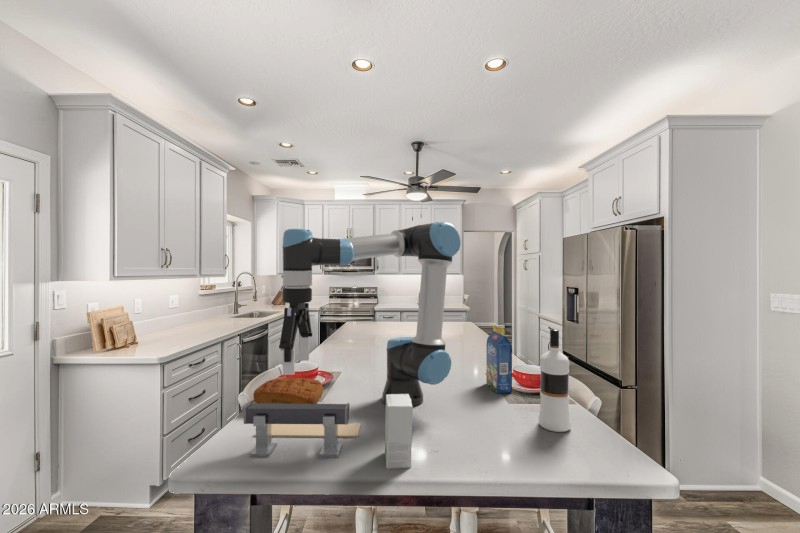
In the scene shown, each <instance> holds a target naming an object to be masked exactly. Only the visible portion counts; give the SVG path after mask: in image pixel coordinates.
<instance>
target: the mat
mask: <svg viewBox="0 0 800 533" xmlns="http://www.w3.org/2000/svg"><path fill="white" fill-rule="evenodd" d="M360 429H361V423H348V424H347V425H345V424H338V438H358V436H359V433H360ZM253 437H254V438H256V432H255V433H254V434H253ZM280 437H281V438H324V426H323V424H271V438H280Z"/></svg>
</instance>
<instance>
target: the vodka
mask: <svg viewBox="0 0 800 533" xmlns="http://www.w3.org/2000/svg"><path fill="white" fill-rule="evenodd" d="M539 364H540V365H539V366H540V367H539V369H540V392H539V395H540V405H539V406H540V409H539V414H538V419H537V420H538V424H539V425H540V427H542V428H543V429H545V430H547V431H549V432H550V431H551V432H553V433H565V432H567V431H569V430H570V429H571V427H572V421H571V418H570V417H571V416H570V406H569V404H570V395H569V394H570V393H569V391H570V390H569V388H570V385H569V383H570V378H569V377H570V375H569V373H570V360H569V358H568V357H567V355H565V354H564V353H562V352H561V351H560V330H558V329H555V328H554V329H553V328H552V329H550V330H549V350H547V351H546V352H545V353H543V354H542V355H541V356H540V359H539Z"/></svg>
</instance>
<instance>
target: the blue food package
mask: <svg viewBox="0 0 800 533" xmlns="http://www.w3.org/2000/svg"><path fill="white" fill-rule="evenodd" d="M492 327H493V328H492V329H493V330H492V331H491V333H490V334H489V335H488V337H487V339H486V371H485V372H486V375H485V376H486V377H485V378H486V384H487V386H488V387H490V388H491V390H493V391H494V392H495V393H496V394H510V393H511V394H512V393H513V348H512V343H511V342H510V341H509V339H508V338H507V337H506V336H505V332H506V331H505V329H504V328H503V327H501V326H498V325H496V324H493V326H492Z"/></svg>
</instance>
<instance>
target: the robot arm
mask: <svg viewBox="0 0 800 533" xmlns="http://www.w3.org/2000/svg"><path fill="white" fill-rule="evenodd" d="M461 245H462V244H461V236H460V233H459V230H457V229H456V226H454V224H452V223H450V222H446V221H435V222H433V223H425V224H420V225H419V224H417V225H414V226H411V227H410V226H409V227H407V228H403V229H396V230H393V231H391V232H390V233H385V234H377V235H376V234H374V235H367V236H366V235H364V236H354V237H346V238H345V237H343V238H319V237H314V236H313V232H312V230H310V229H305V228H304V229H303V228H288V229H286V230H284V232H283V238H282V245H281V246H282V247H281V248H282V274H281V275H280V278H281V279H282V286H283V287H285V288H283V289H282V302H283V303H285V304H286V303H287V304H289V306H288V307H285V308H284V311H283V312H284V314H283V322H282V327H281V334H280V340H279V345H278V348H279V349H281V350H282V375H284V376H290V375H291V376H293V375H295V373H296V371H295V368H296V361H295V360H296V355H295V353H296V348H295V347H294V345H295V341H296V337H297V334H298V333H297V332H298V331H299V335H300V337H299V338H298V361H310V338H311V337H313V331H312V326H311V318H310V312H309V311H310V310H309V309H310V308H309V306H310V304H309V303H310V302H311V301H312V300H313V289H312V288H311V287H312V286H313V267H314V266H339V267H341V266H349V265H350V264H351V263H352V262H353V261H356V260H357V261H359V260H364V259H370V258H371V259H372V258H380V257H387V256H394V257H397V258H399V257H418V259H417V261H418V262H419V263H420V265H421V273H420V290H419V299H418V313H417V322H416V323H417V324H416V335H415V336H405V337H404V336H403V337H395V338H390V339H388V341H387V343H386V344H387V345H386V350H385V351H386V381H385V384H384V387H383V391H382V394H381V401H382V403H383V404H384V405H386V394H409V396H410V399H411V403H412V406H413V408H414V407H419V406H420V405H421V404H422V403H423V402H424V393H423V390H422V386H421V384H420V382H421V383H422V384H428V385H439V384H441V383H442V382H444V380H445V378H447V377H448V376H449V374H450V371H451V369H452V368H451V367H452V358H451V356H450V354H449V353H448V352H447V351H446V342H445V340H444V339H443V338H442V336H443V324H444V312H445V311H444V310H445V298H446V286H447V273H448V272H447V271H448V267H449V266H450V265H452V263H453V257H454V256H455V255H457V253H458V252H459V251H460V248H461Z"/></svg>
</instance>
